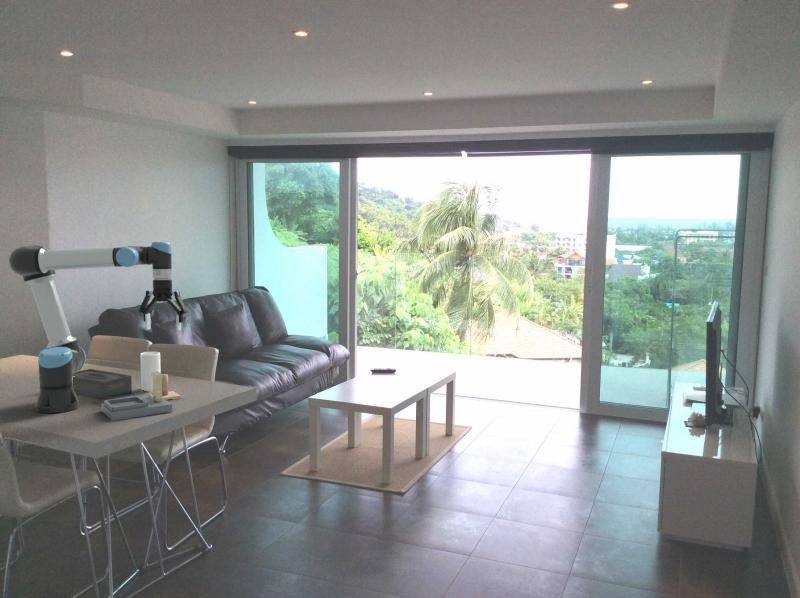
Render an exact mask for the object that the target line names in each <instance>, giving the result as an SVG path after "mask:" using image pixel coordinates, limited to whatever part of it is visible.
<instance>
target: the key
mask: <svg viewBox="0 0 800 598" xmlns="http://www.w3.org/2000/svg"><path fill="white" fill-rule="evenodd" d="M151 376H152V378H153V389H152V390H148V391H147V393H148V394H151V395H153V400H154V401H155V402H160V401H162V378H163V373H160V372H158V371H155V372H151Z"/></svg>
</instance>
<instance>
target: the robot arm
mask: <svg viewBox="0 0 800 598" xmlns="http://www.w3.org/2000/svg"><path fill="white" fill-rule="evenodd" d="M172 253H173V252H172V245H171V243H170V242H169V241H152V242H151V246H140V245H139V246H138V245H137V246H136V245H127V246H122V247H119V246H118V247H101V248H100V247H98V248H81V249H80V248H79V249H76V248H75V249H74V248H73V249H55V250H54V249H53V250H50V249H48V248H46V247H44V246H41V245H36V244H35V245H26V246H25V245H24V246H19V247H17V248H15V249H14V250H13V251H12V252H11V253H10V255H9V258H8V263H9V266H10V268H11V270H12V271H13V272H14V273H16V274H17V275H20V276H21V277H22V278H23V279H22V280H23V282H24V283H25V284H27V285H29V286H30V289H31V293H32V295H33V297H34V300H35V304H36V306H37V307H36V308H37V310H38V313H39V316H40V320H41V322H42V325H43V329H44V331H45V333H46V338H47V340H48V344H47V345H46V348H45V349H42V350H41V351H39V353H38V359H37V360H38V361H37V362H38V378H39V380H38V381H39V393H38V396H37V399H36V402H35V411H36V412H37V413H39V414H40V413H41V414H58V413H65V412H69V411H70V412H71V411H74V410H77V409H78V408H79V405H80V403H79V398H78V396H77V393H76V391H75V389H74V388H73V377H74V376H73V375H74V374H76V373H78V372H79V371H80V370H81V369H82V368H83V367H84V365H85V364H86V360H87V354H86V352H85V350H84V349H83V348H82V347H81V346H80V345H79V342H78V339H77V338H76V337H74V336H72V333H71V330H70V327H69V323H68V321H67V318H66V315H65V312H64V308H63V306H62V303H61V299H60V296H59V293H58V290H57V287H56V283H55V281H54V280H55V277H56V275H57V274H56V271H60V270H61V271H62V270H78V269H79V270H81V269H96V268H97V269H99V268H121V267H123V268H129V267H134V266H142V265H148V266H150V265H151V266H152V267H151V268H152V278H153V279H152V289H153V290H151V289H149V290H146V291H145V295H144V298H143V301H142V303H141V304H140V307H139V310H138V312H139V313H140V314H142V315H143V322H145V330H147V331H149V330H151V328H152V327H151V321H152V320H151V313H150V312H151V310H152V309H153V307H154V306H156V304H157V303H158V302H163V303H164V302H165V303H168V304H169V305H170V306H171V308H172V309H173V310H174V311H175V312H176V316H175V317H176V318H175V319H176V323H175V324H176V325H175V327H176V332H180V331H182V323H183V322H184V314H185V315H186V314H187V313H188V309H187V307H186V305H185V304H184V301H183V300H182V297H181V294H180V293H181V292H180V290H175V291H173V280H172V278H173V273H172V268H173V267H172V263H173V262H172ZM152 296H153V297H152ZM172 296H173V297H174V298H173V297H172ZM151 297H152V299H151ZM150 300H151V301H150ZM149 301H150V302H149ZM175 301H176V302H175Z"/></svg>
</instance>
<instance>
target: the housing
mask: <svg viewBox="0 0 800 598" xmlns="http://www.w3.org/2000/svg"><path fill="white" fill-rule="evenodd" d="M101 412H102V413H103V414H104V415H105V416H106V415H107V417H108V418H109V419H110V420H111V421H112V422H113V421H121V420H126V419H133V418H139V417H146V416H153V415H160V414H166V413H172V412H173V404H172V403H171V402H169V400H165V399H163V398H162V401H160V402H155V401H154V400H153V397H149V396H148V397H141V396H138V395H135V396H128V397H119V398H113V399H105V400H103V403H101Z"/></svg>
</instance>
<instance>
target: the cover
mask: <svg viewBox="0 0 800 598" xmlns="http://www.w3.org/2000/svg"><path fill="white" fill-rule="evenodd" d="M162 374H163V373H162ZM148 394H149V396H150V397H153V395H151V394H150V393H148ZM149 396H148V397H149ZM162 398H163V399H173V400H179V398H181V399H182V395H180V394H179V393H177V392H175V391H173V390H171V391H169V375H168V374H167V373H166V374H163V378H162Z"/></svg>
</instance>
